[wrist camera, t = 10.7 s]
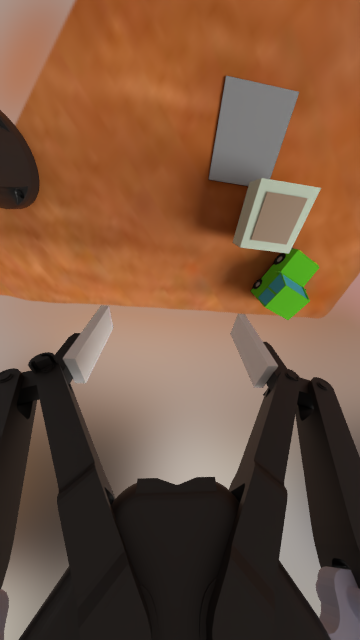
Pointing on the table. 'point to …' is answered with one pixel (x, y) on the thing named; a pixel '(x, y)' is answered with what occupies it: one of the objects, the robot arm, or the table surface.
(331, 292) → the table surface
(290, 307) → the toy car
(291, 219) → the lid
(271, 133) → the mat
